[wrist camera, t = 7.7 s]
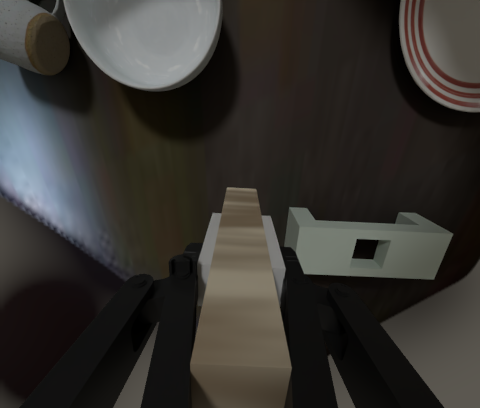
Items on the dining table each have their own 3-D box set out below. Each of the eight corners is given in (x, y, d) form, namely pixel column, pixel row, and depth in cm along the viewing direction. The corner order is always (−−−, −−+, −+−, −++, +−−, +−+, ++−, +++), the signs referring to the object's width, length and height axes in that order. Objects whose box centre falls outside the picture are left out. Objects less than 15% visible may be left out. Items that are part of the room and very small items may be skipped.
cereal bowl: (156, -100, 26) (127, -174, 19) (251, 30, 30) (254, 5, 24) (73, 21, 30) (25, -6, 24) (167, 120, 34) (149, 121, 28)
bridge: (289, 207, 39) (299, 226, 32) (415, 213, 39) (453, 233, 32) (284, 247, 42) (292, 273, 35) (401, 252, 42) (433, 279, 35)
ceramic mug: (70, 83, 33) (23, 72, 26) (10, 58, 32) (-57, 39, 24) (83, -2, 29) (31, -42, 22) (16, -33, 28) (-60, -86, 21)
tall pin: (227, 187, 23) (189, 363, 7) (256, 189, 24) (291, 368, 7) (226, 214, 25) (192, 423, 8) (253, 215, 25) (280, 427, 8)
